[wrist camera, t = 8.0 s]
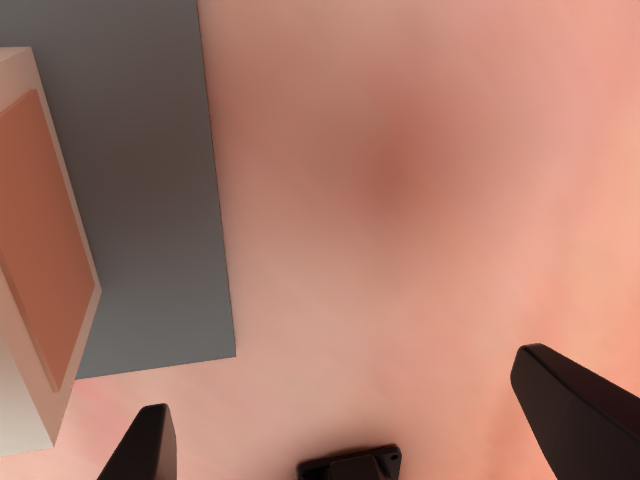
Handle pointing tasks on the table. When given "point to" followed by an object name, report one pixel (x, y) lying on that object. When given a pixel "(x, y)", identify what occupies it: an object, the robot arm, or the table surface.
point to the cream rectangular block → (37, 265)
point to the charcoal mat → (136, 172)
